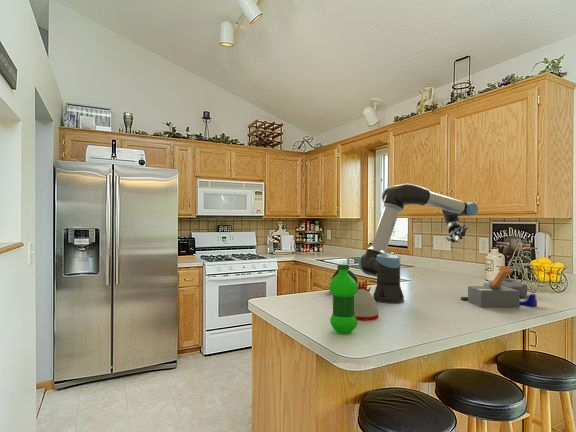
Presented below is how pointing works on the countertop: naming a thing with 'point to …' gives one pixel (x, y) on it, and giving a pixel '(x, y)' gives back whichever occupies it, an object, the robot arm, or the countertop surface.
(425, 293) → the countertop surface
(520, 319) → the countertop surface
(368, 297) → the grey dome with crown
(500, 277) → the breaker lever
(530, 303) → the cable clip
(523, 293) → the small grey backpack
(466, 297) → the cord bundle
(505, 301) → the block
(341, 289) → the plastic bottle
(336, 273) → the squash
